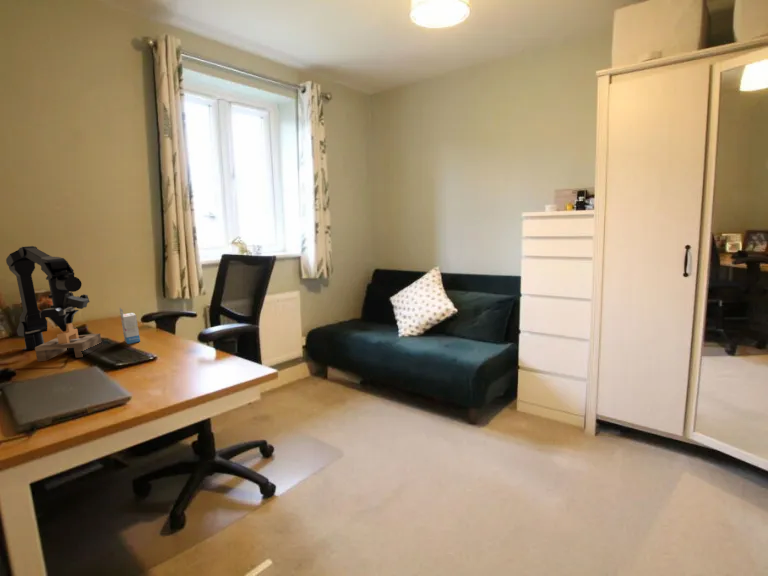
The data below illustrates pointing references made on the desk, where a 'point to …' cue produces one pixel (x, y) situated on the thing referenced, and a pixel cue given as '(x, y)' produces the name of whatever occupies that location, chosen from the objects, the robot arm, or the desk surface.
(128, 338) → the ink box
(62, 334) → the pale wooden stand block
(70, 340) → the hook shelf
